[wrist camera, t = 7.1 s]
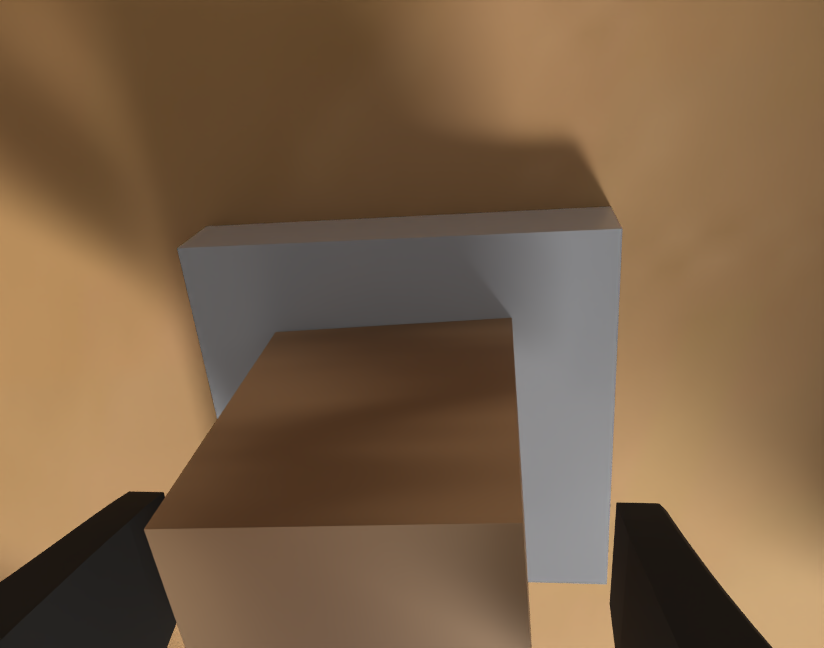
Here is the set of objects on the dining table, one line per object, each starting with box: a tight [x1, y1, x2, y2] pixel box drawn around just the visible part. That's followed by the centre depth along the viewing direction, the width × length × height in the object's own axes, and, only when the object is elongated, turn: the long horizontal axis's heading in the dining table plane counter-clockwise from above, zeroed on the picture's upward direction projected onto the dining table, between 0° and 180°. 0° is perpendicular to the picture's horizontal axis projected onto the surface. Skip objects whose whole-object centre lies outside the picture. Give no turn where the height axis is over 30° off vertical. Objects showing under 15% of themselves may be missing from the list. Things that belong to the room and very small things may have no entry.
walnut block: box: [144, 318, 532, 648], centre depth 11 cm, size 4×4×6 cm
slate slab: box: [177, 206, 622, 584], centre depth 15 cm, size 8×8×2 cm
